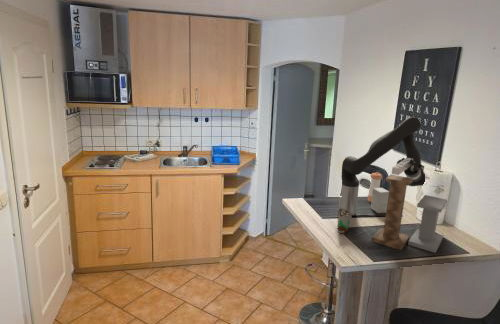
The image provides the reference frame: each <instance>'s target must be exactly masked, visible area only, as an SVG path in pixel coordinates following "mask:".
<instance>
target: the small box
mask: <svg viewBox="0 0 500 324" xmlns="http://www.w3.org/2000/svg"><path fill="white" fill-rule="evenodd" d="M388 196H389V190H387V189H385V188H384V187H380V188H373V193H372V201H371V202H370V209H371V210H373V211H374V212H376V213H377V214H384V213H385V214H386V210H387V203H388Z"/></svg>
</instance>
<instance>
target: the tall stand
mask: <svg viewBox="0 0 500 324" xmlns="http://www.w3.org/2000/svg"><path fill="white" fill-rule="evenodd" d="M412 181H413V179H412V178H407V176H400V175H395V174H390V175H388V176H386V177H385V182H388V183H389V189H388V191H389V196H388V203H387V210H386V213H385V219H384V224H383V226H384V227H380V228H379V229H378V230H377V231H376V232H375V233H374V234H373V235H372V236H371V241H372V242H373V243H377V244H381V245H383V246H386V247H389V248H393V249H396V250H400V251H402V250H403V249H404V247H405V246H406V244H407V243H408V242H409V240H410V238H411V237H410V235H408V234H405V233H402V232H401V233H400V231H401V227H402V219H403V212H404V208H405V207H404V206H405V198H406V194H407V193H406V192H407V187H408V186H409V184H410V183H412Z"/></svg>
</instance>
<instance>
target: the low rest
mask: <svg viewBox="0 0 500 324" xmlns="http://www.w3.org/2000/svg"><path fill="white" fill-rule="evenodd" d="M447 203H448V199H447V198H446V199H445V198H441V197H435V196H432V195H427V194H425V195H423V196H422V198H421V199H420V200H419V201H418V203H416V204H417V205H416V207H417V208H420V209H422V214H421V220H420V224H419V225H420V227H418V228H416V230H415V231H414V233H413V234H412V236H411V237H409V240H408V242H407V243H408V246H411V247H415V248H418V249H422V250H425V251H428V252H432V253H435V254H436V253H437V251H438V249H439V247H440V245H441V243H442V242H443V240H444V239H443V238H444V235H443V234H440V233H436V230H437V225H438V224H437V223H438V220H439V214H440V213H441V212H442V211H443V210H444V208H445V207H446V205H447Z"/></svg>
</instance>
